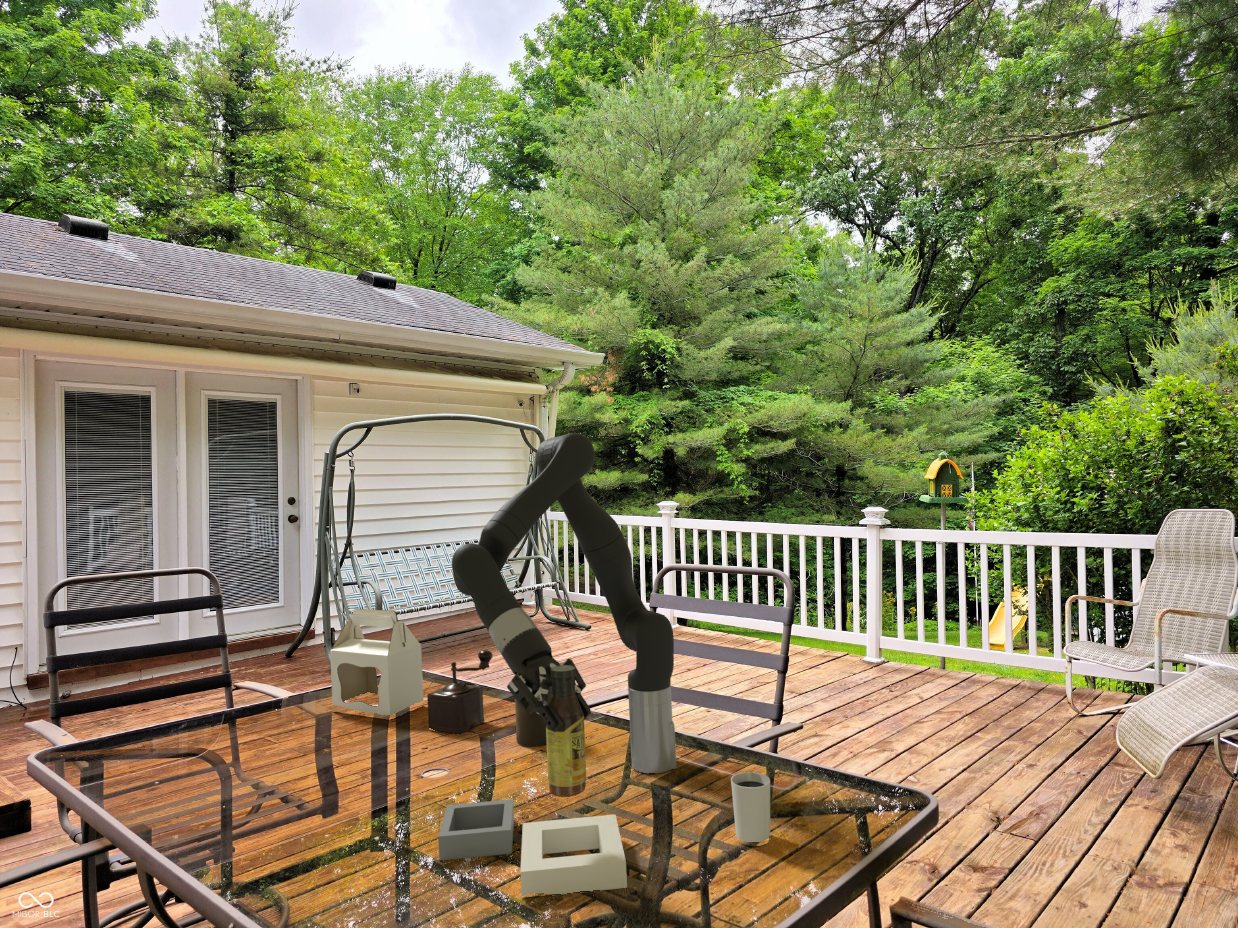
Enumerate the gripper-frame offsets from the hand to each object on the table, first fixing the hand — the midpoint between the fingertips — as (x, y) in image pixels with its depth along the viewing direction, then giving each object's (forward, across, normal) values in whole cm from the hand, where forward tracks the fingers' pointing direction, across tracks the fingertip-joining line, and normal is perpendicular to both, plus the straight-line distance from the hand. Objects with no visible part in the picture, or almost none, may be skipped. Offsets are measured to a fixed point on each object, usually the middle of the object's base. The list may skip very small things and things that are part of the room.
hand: (573, 722), depth 121 cm
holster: (+2, -3, +32) cm, 32 cm away
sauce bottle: (+7, 0, +9) cm, 12 cm away
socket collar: (+16, 0, +18) cm, 24 cm away
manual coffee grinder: (-35, +37, +69) cm, 86 cm away
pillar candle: (-17, +38, +51) cm, 66 cm away
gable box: (-57, +32, +91) cm, 112 cm away
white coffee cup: (+30, +24, +4) cm, 38 cm away
